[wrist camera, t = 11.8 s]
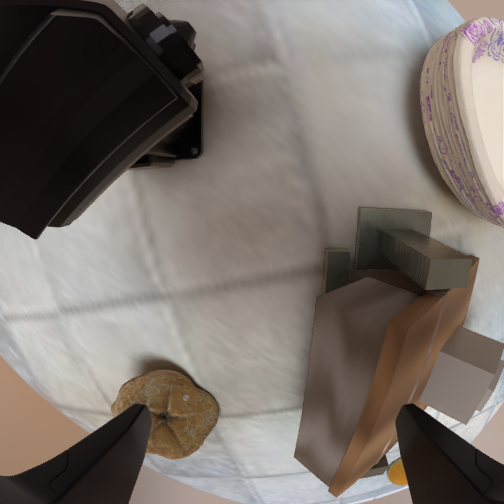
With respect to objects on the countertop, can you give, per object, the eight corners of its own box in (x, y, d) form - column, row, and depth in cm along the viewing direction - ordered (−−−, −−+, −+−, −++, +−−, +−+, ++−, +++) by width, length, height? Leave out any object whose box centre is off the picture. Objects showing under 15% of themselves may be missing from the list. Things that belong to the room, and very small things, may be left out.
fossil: (189, 472, 20) (95, 432, 17) (174, 452, 24) (92, 412, 20) (234, 402, 24) (146, 351, 21) (213, 389, 28) (136, 342, 24)
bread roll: (377, 468, 28) (382, 489, 24) (429, 435, 26) (438, 455, 22) (399, 477, 29) (404, 494, 26) (445, 447, 27) (453, 464, 23)
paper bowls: (436, 244, 19) (498, 278, 11) (366, 59, 16) (411, 12, 8) (531, 186, 17) (585, 199, 9) (482, 42, 13) (532, 21, 6)
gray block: (419, 400, 17) (472, 427, 12) (439, 351, 16) (501, 377, 11) (441, 372, 20) (488, 393, 15) (458, 325, 18) (510, 346, 14)
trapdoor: (315, 288, 14) (409, 329, 10) (429, 244, 23) (480, 258, 18) (292, 460, 18) (337, 498, 14) (396, 379, 27) (433, 399, 23)
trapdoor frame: (327, 205, 19) (363, 227, 11) (428, 211, 18) (493, 234, 11) (302, 431, 25) (307, 490, 18) (375, 423, 25) (392, 477, 17)
